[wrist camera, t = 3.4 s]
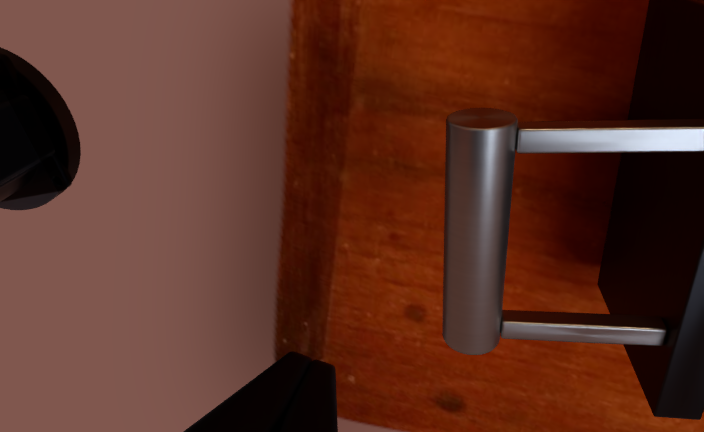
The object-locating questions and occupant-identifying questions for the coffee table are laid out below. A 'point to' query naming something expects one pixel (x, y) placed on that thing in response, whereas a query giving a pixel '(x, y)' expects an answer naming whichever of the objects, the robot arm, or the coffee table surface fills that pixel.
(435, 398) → the coffee table surface
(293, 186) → the coffee table surface
